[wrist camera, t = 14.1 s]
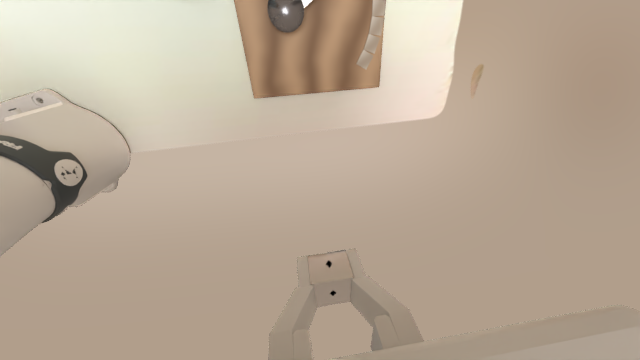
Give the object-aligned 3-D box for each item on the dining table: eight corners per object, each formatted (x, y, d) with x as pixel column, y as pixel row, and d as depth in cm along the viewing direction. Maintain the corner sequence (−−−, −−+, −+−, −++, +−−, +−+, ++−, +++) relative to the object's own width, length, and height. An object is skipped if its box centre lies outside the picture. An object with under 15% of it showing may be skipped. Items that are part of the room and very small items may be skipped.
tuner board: (254, 96, 40) (254, 98, 39) (214, -101, 28) (211, -107, 26) (376, 85, 42) (379, 87, 40) (389, -104, 29) (394, -110, 28)
